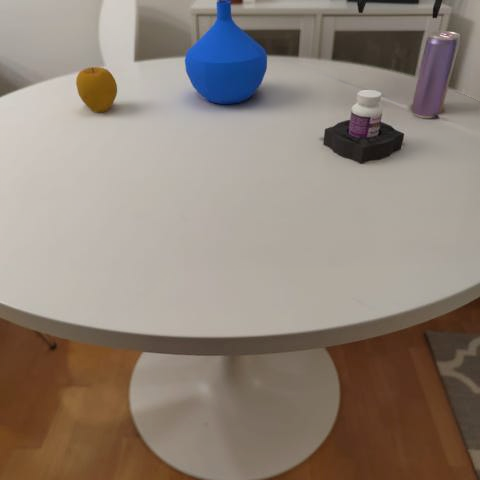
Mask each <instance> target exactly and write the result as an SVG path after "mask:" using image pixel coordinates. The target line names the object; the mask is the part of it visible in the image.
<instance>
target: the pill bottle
mask: <svg viewBox="0 0 480 480" xmlns="http://www.w3.org/2000/svg"><path fill="white" fill-rule="evenodd" d="M381 101H382V93H381V92H380V91H379V90H375V89H363V90H359V91H358V92H357V95H356V103H355V104H354V105H353V106H352V107H351V109H350V118H349V120H350V125H349V134H350V135H352V136H355V137H359V138H374V137H377V136H378V134H379V129H380V123H381V122H382V117H383V106H382V105H381V104H380V103H381Z"/></svg>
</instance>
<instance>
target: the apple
mask: <svg viewBox="0 0 480 480" xmlns="http://www.w3.org/2000/svg"><path fill="white" fill-rule="evenodd" d="M75 84H76V90H77V94H78V97H80V99H81V101H82V102H83V103H84V104H85V106H86V107H87V108H88V109H89V110H91V111H92V112H95V113H106V112H107V111H108V110H110V109H111V108H112V106H113V104H114V101H115V99H116V98H117V95H118V85H117V81H116V79H115V77H114V76H113V74H112V73H111V72H110V70H109V69H107V68H104V67H97V66H91V67H87V68H83V69H81V70H80V71H79V72H78V74H77V76H76V81H75Z"/></svg>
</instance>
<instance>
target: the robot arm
mask: <svg viewBox="0 0 480 480" xmlns="http://www.w3.org/2000/svg"><path fill="white" fill-rule="evenodd" d="M367 1H368V0H357V1H356V5H357V11H358V12H357V13H358V14H363V13H364V10H365V7H366V4H367ZM442 4H443V0H434V4H433V6H432V15H431V16H432V17H431V18H432V19H437V18H438V15H439V12H440V10H441V7H442Z"/></svg>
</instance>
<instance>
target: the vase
mask: <svg viewBox="0 0 480 480" xmlns="http://www.w3.org/2000/svg"><path fill="white" fill-rule="evenodd" d="M186 51H187V52H186V53H185V58H184V64H185V72H186V75H187V77H188V79H189V81H190V83H191V85H192V87H193V88H194V89H195V90H196V92H197V93H198V94H199V95H200V96H201V97H203V98H204V99H205V100H206V101H208V102H210V103H214V104H219V105H232V104H238V103H239V104H240V103H242V102H244V101H247V100H248V99H250V97H252V96H253V95H254V94H255V93H256V92H257V90H258V89H259V88H260V86H261V85H262V82H263V80H264V77H265V74H266V72H267V69H268V55H267V52H266V49H265V48H264V47H263V46H262V45H261V44H260V43H258V42H257V41H256V40H255V39H253V38H252V37H251V36H250V35H248V34H247V33H246V32H245V31H244V30H243V29H242V28H241V27H239V26H238V25H237V24H236V22H235V20H234V19H233V16H232V2H231V0H218V1H216V19H215V22H214V23H213V25H212V26H211V27H210V28H209V29H208V30H207V31H206V32H205V33H204V34H203V36H202V37H201V38H199V39H198V40H197V41H196V42H195V43H194V44H193V45H192V46H191V47H190V48H189V49H188V50H186Z"/></svg>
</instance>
